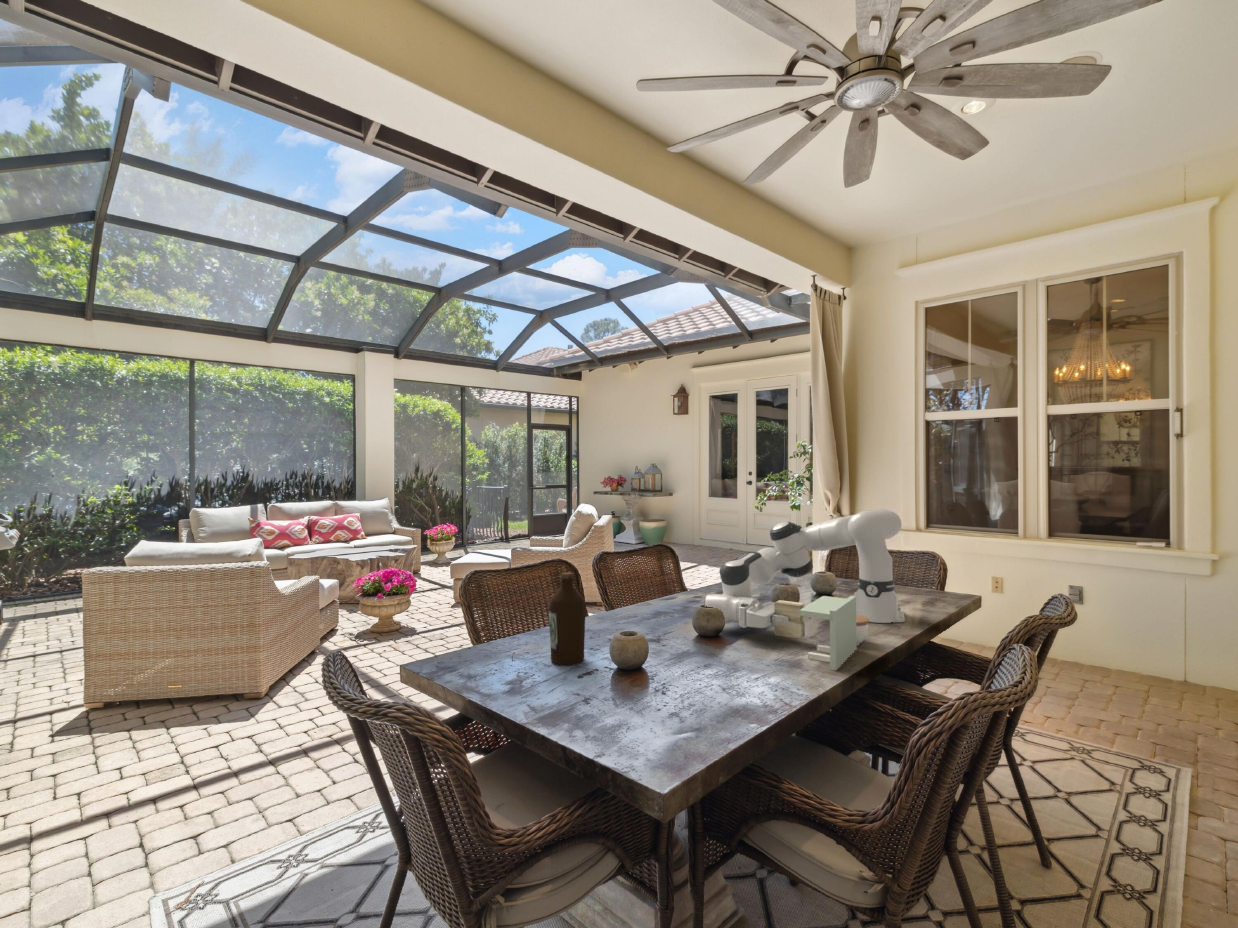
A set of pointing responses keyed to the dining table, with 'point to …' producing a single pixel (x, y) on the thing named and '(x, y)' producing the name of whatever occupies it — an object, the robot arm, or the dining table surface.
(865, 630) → the lidded jar
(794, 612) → the birch box
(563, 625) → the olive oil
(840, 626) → the hutch
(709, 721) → the dining table surface
